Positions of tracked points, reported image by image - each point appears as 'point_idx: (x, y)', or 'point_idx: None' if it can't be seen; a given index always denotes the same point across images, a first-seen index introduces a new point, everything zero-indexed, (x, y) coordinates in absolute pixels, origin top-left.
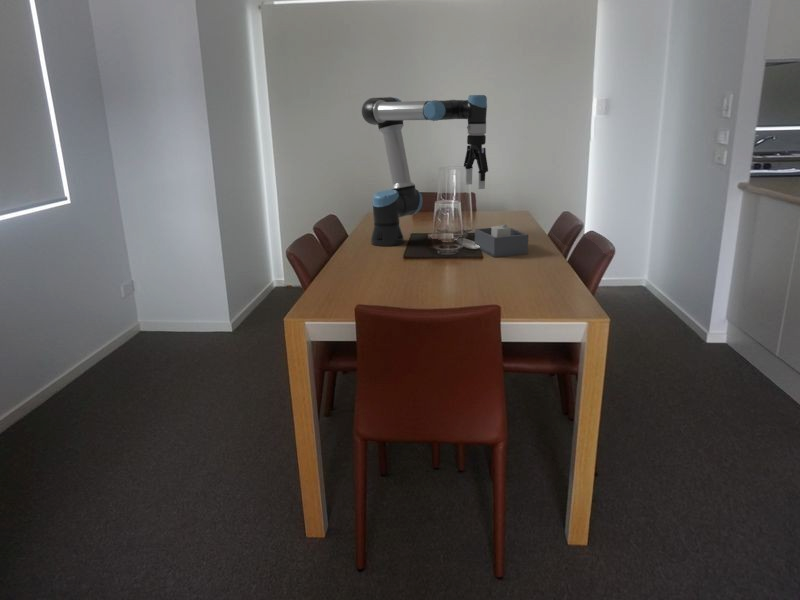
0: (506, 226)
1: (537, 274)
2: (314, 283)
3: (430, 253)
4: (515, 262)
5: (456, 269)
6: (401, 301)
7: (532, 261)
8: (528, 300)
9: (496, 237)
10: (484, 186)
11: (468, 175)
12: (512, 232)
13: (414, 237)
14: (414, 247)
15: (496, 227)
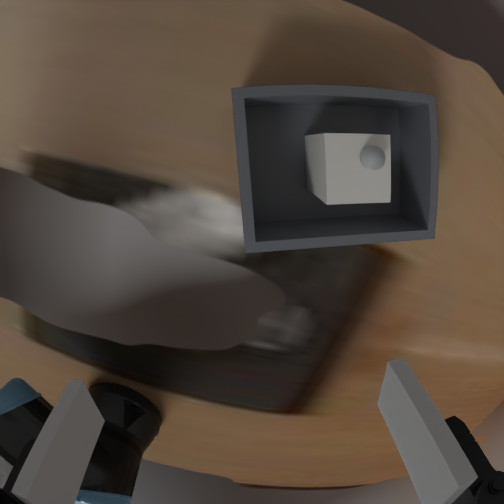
0: (380, 149)
1: None
2: (371, 482)
3: (271, 364)
4: (459, 184)
5: (439, 335)
6: (491, 403)
7: (466, 138)
8: None
9: (432, 228)
10: (412, 374)
11: (72, 470)
12: (318, 97)
13: (67, 347)
14: (185, 381)
15: (357, 191)
